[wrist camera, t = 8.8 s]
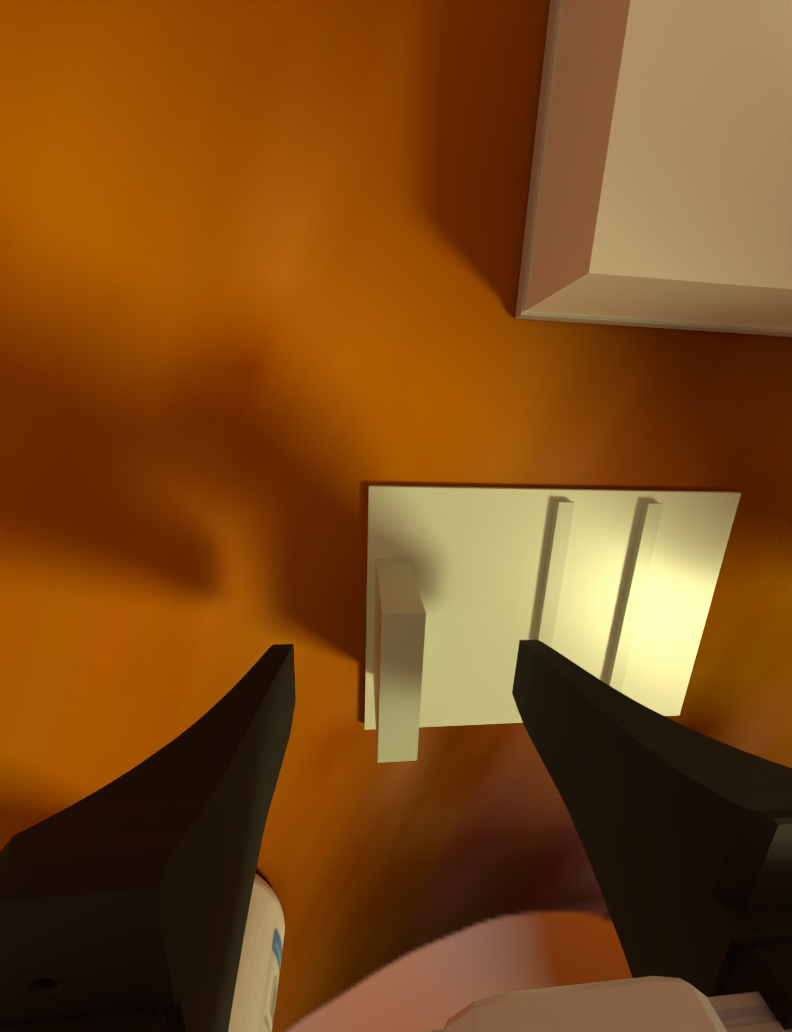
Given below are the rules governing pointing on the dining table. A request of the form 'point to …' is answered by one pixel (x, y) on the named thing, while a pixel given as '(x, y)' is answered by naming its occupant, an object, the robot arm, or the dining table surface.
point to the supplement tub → (259, 962)
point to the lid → (531, 596)
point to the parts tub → (663, 167)
